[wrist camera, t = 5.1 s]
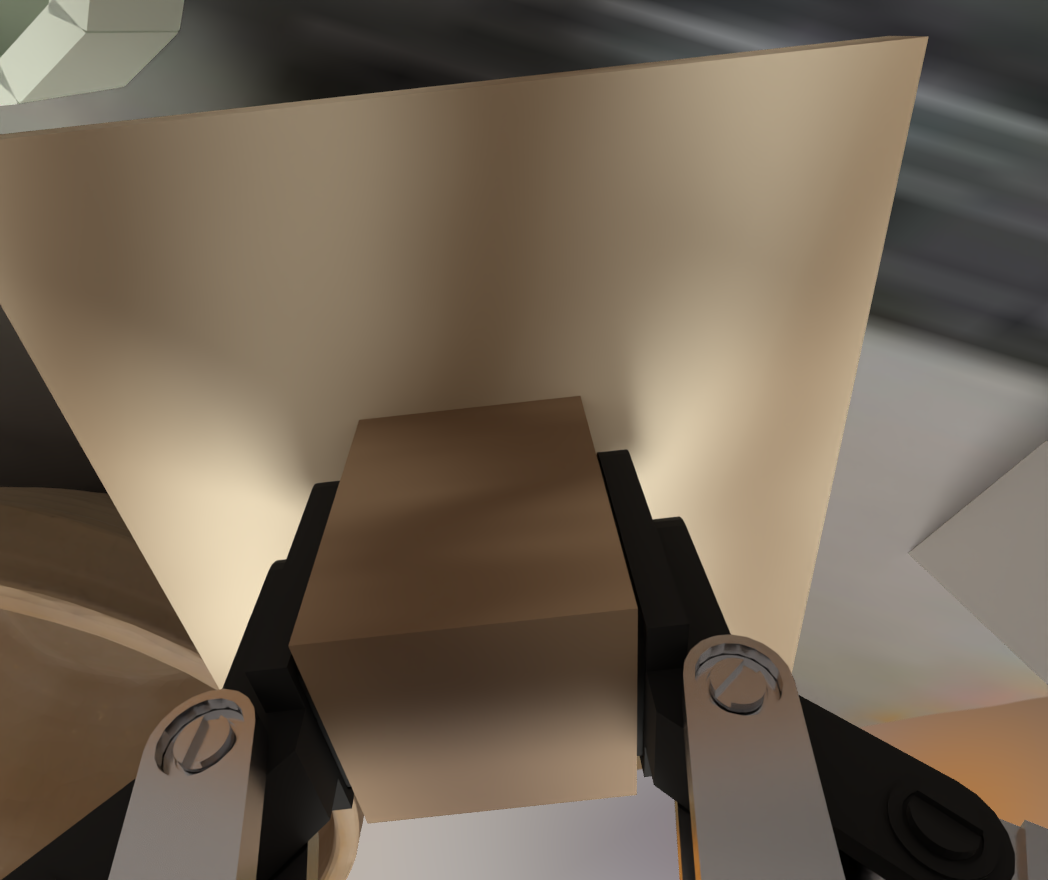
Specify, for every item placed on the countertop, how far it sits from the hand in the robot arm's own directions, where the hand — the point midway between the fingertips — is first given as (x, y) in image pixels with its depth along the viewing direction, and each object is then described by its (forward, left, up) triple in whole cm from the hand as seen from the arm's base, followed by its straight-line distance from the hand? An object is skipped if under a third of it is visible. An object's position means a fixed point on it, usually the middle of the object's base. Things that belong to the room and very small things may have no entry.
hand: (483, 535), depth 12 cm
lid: (0, 0, -2) cm, 2 cm away
